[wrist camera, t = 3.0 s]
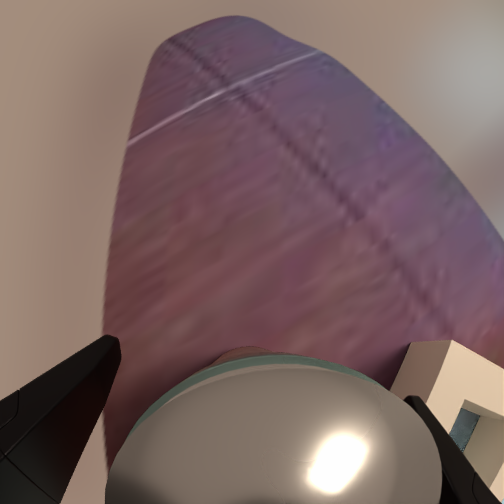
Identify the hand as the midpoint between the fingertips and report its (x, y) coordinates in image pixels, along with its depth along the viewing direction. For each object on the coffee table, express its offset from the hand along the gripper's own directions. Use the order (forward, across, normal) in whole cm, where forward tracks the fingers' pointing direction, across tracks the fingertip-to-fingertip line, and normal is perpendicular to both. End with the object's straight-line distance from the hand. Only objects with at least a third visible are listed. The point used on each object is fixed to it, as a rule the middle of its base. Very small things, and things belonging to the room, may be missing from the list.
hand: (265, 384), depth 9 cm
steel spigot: (+4, 0, +6) cm, 7 cm away
